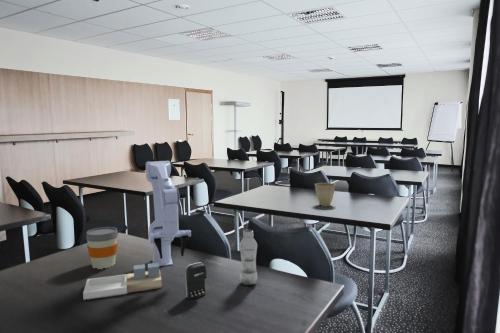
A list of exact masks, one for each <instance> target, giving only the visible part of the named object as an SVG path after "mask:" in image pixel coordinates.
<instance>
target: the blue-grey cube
mask: <svg viewBox="0 0 500 333" xmlns="http://www.w3.org/2000/svg"><path fill="white" fill-rule="evenodd" d="M159 270H160V266H159V263H153V262H151V263H147V271H148V278H154V277H160V274H161V273H160V274H159Z"/></svg>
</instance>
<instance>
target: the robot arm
mask: <svg viewBox="0 0 500 333" xmlns="http://www.w3.org/2000/svg"><path fill="white" fill-rule="evenodd" d="M171 172H172V165H171V162H170V161H169V160H158V161H156V160H155V161H146V162H145V175H146V180H147V182H149V183H151V187H152V195H153V196H152V197H153V210H154V221H153V222H151V223H150V224H149V227H148V239H149V243H150V244H152V249H153V258H152V259H151V260H152V263H159V267H163V266H172V265H173V264H174V263H173V260H172V256H171V255H172V254H171V252H172V251H171V250H172V249H171V247H172V246H171V243H172V242H173V241H174V239H175V238H180V256H181V257H184V255H185V250H186V247H187V244H188V242H189V237H192V230H191V229H185V230H184V229H180V228H179V225H180V223H179V221H180V220H179V204H180V200H181V199H180V196H181V195H180V191H179V188H178V187H176V186H175V184H174V182H173V179H172V178H171V176H170V175H171Z"/></svg>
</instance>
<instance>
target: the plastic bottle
mask: <svg viewBox="0 0 500 333" xmlns="http://www.w3.org/2000/svg"><path fill="white" fill-rule="evenodd" d="M242 234H243V235H242V237H243V238H242V239H241V241H240V243H239V251H240V259H241V263H240V264H241V265H240V272H239V280H240V283H242V284H243V285H245V286H252V285H255V284H256V283H257V281H258V272H257V252H258V243H257V241H256V239H255V238H254V230H253V229H243V231H242Z"/></svg>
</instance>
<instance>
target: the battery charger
mask: <svg viewBox="0 0 500 333" xmlns="http://www.w3.org/2000/svg"><path fill="white" fill-rule="evenodd" d="M184 269H185V270H184V280H185V297H186V298H188V299H189V300H194V299H197V298H201V297H203V296H205V295H206V294H207V292H206V285H205V282H206V279H207V278H208V277H207V274H208V273H207V267H206V265H205V264H204V263H203V262H201V261H198V262H194V263H190V264H187V265H186V267H185V268H184Z"/></svg>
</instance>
